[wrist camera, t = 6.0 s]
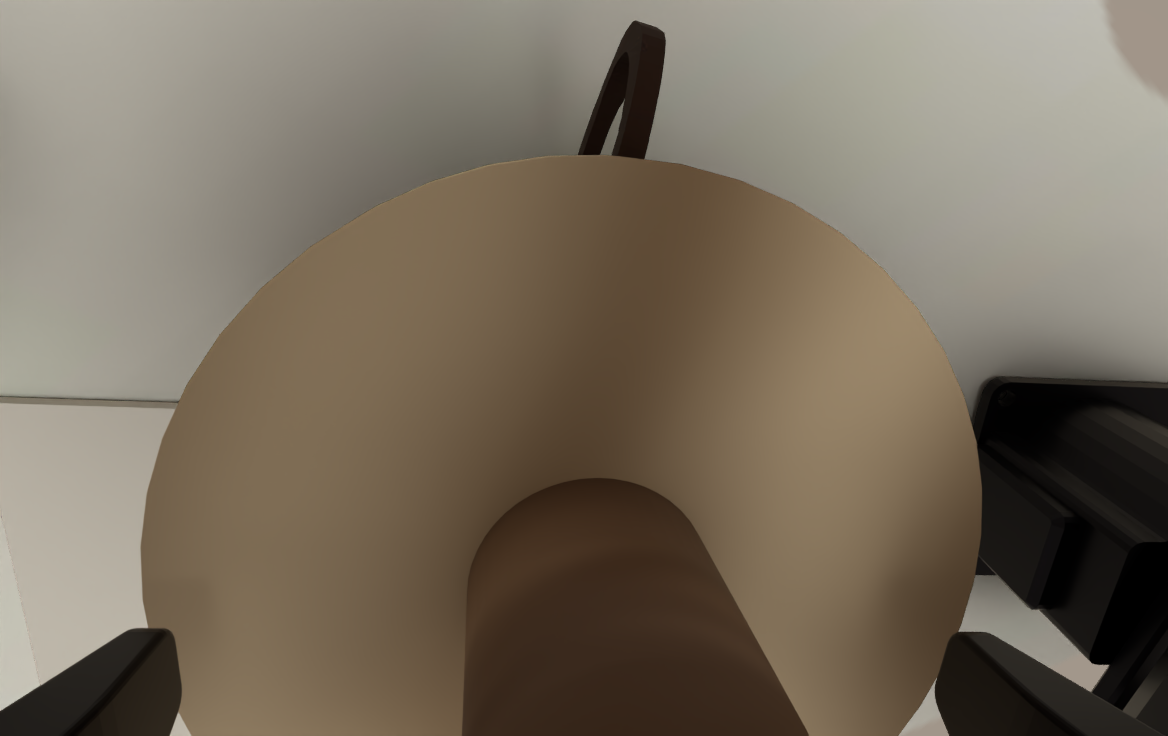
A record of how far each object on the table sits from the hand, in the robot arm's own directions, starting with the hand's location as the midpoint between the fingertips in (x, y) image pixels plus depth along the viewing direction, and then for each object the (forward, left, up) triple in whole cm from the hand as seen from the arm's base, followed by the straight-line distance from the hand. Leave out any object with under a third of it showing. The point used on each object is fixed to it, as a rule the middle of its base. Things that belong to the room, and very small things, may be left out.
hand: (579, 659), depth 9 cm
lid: (0, 0, -2) cm, 2 cm away
